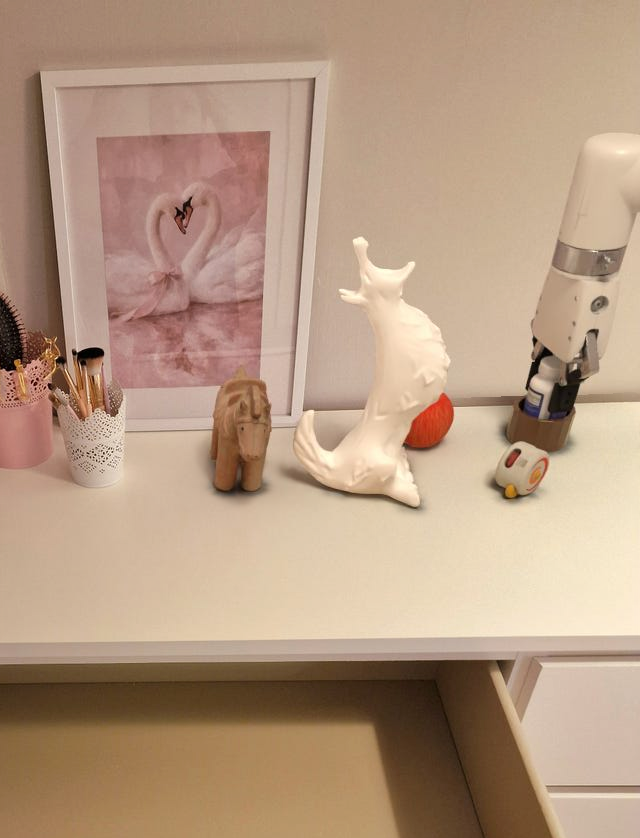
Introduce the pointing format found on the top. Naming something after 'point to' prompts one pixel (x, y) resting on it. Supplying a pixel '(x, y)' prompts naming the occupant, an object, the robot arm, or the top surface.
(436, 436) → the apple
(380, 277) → the sculpture
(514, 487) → the roller toy
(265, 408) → the figurine
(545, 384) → the pill bottle
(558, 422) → the holder
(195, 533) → the top surface
